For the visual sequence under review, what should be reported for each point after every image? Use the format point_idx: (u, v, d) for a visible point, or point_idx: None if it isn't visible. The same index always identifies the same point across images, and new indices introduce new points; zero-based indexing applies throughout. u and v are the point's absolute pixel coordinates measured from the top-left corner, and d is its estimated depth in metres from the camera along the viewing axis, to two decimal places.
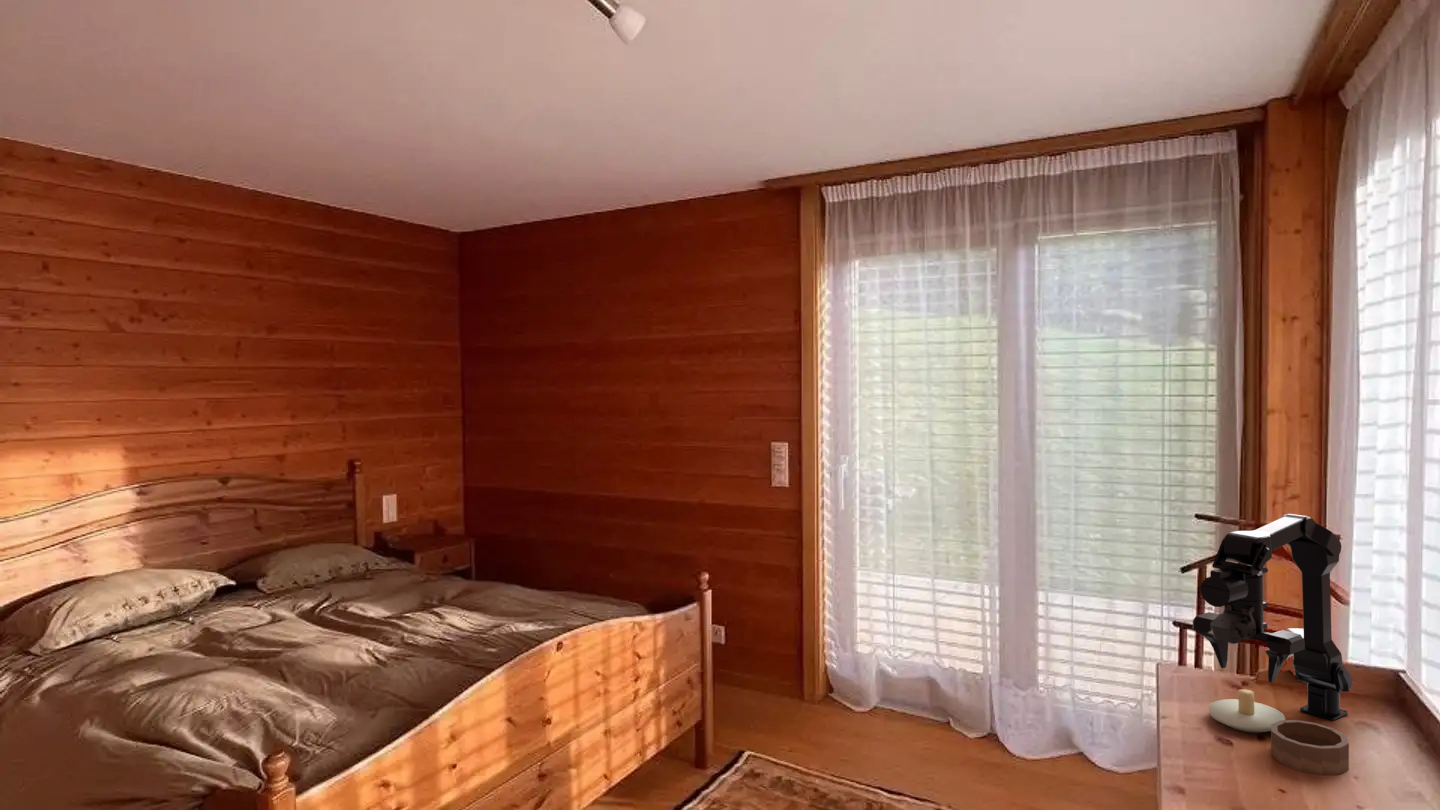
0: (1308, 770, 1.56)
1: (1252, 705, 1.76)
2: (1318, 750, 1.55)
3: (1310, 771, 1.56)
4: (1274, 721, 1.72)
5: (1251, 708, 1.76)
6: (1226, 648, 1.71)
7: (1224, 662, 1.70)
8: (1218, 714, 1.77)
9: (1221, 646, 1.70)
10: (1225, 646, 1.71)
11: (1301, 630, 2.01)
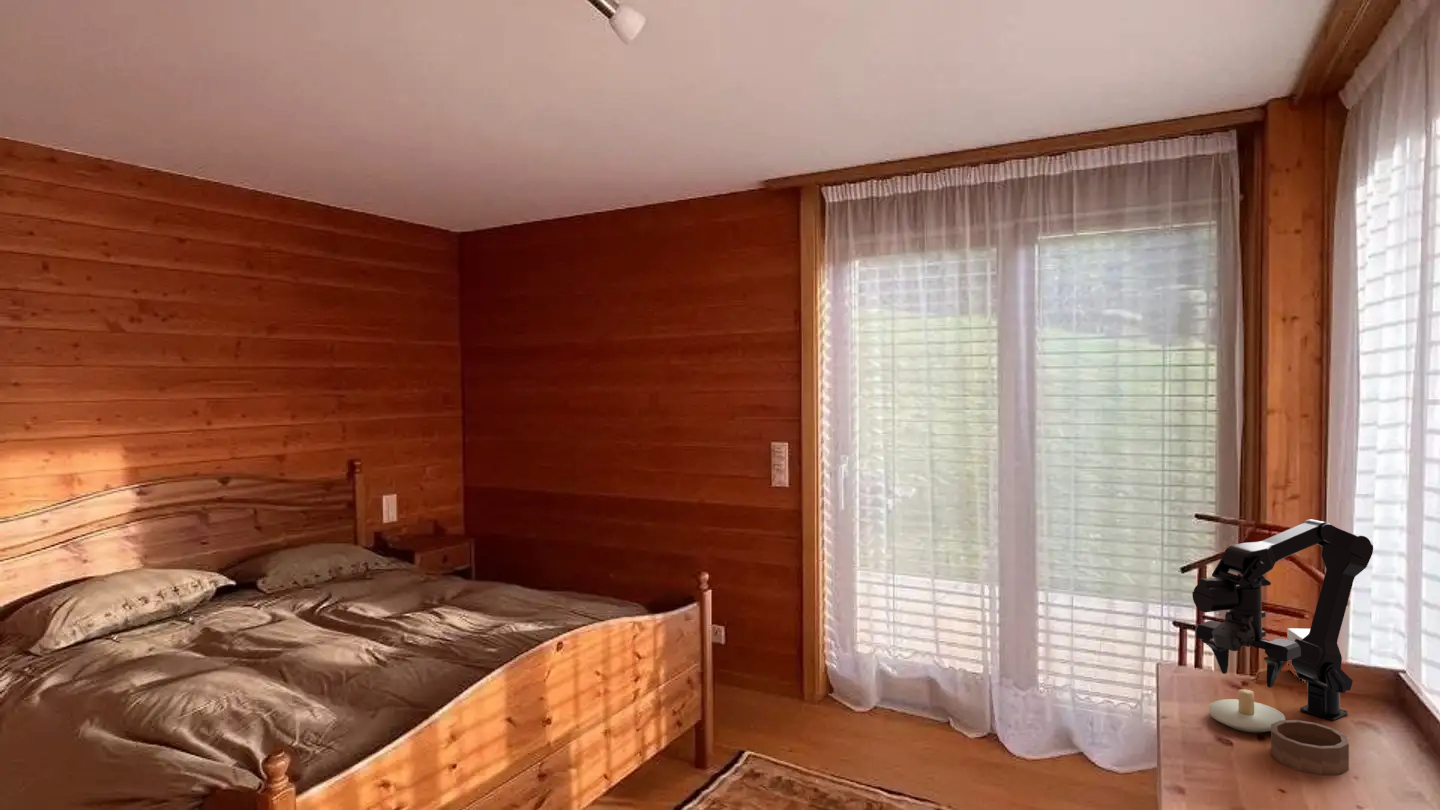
0: (1308, 770, 1.56)
1: (1252, 705, 1.76)
2: (1318, 750, 1.55)
3: (1310, 771, 1.56)
4: (1274, 721, 1.72)
5: (1251, 708, 1.76)
6: (1227, 655, 1.81)
7: (1225, 668, 1.80)
8: (1218, 714, 1.77)
9: (1222, 653, 1.80)
10: (1226, 653, 1.81)
11: (1301, 630, 2.01)
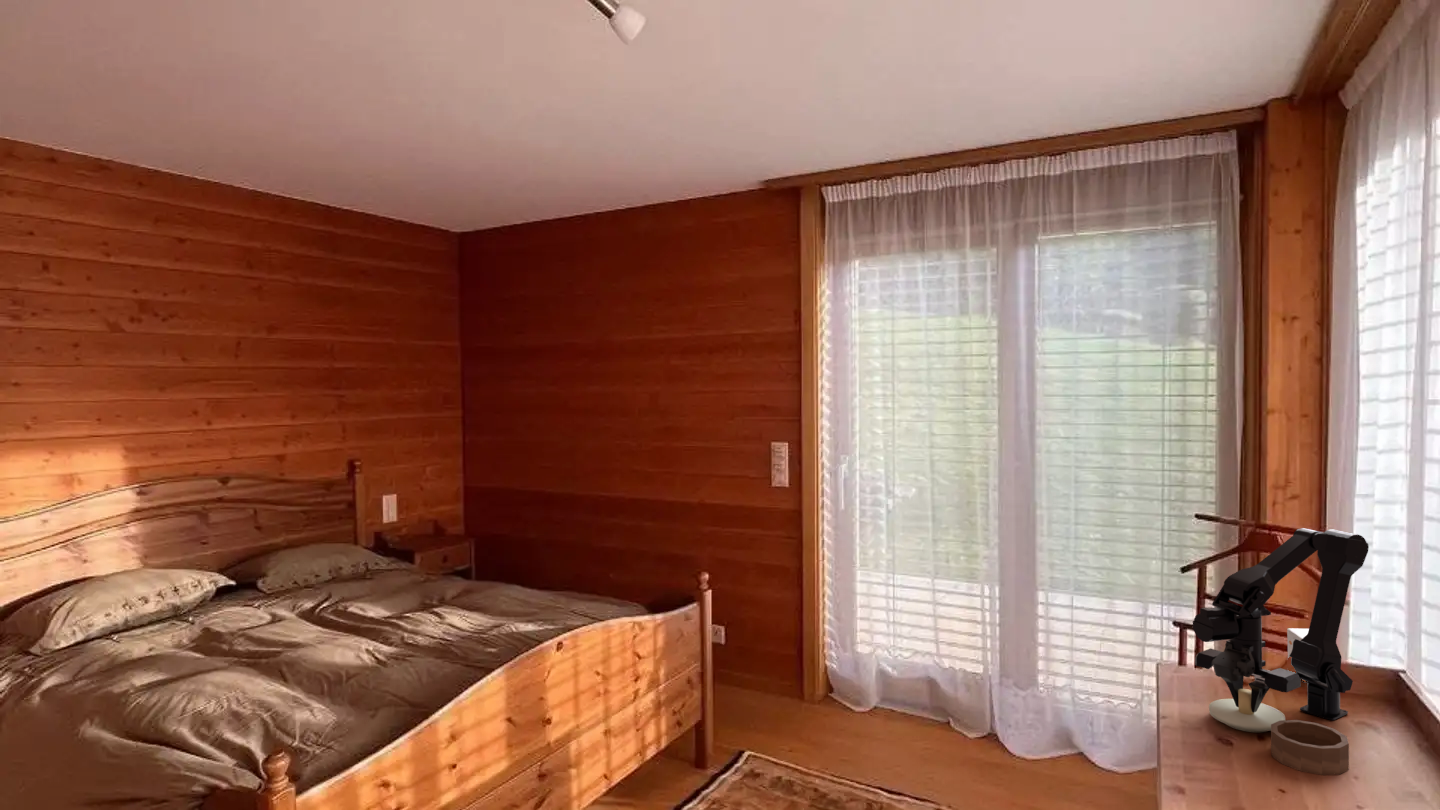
0: (1308, 770, 1.56)
1: None
2: (1318, 750, 1.55)
3: (1310, 771, 1.56)
4: (1274, 720, 1.72)
5: None
6: (1241, 688, 1.79)
7: None
8: (1218, 713, 1.77)
9: (1236, 686, 1.78)
10: (1240, 686, 1.79)
11: (1301, 630, 2.01)
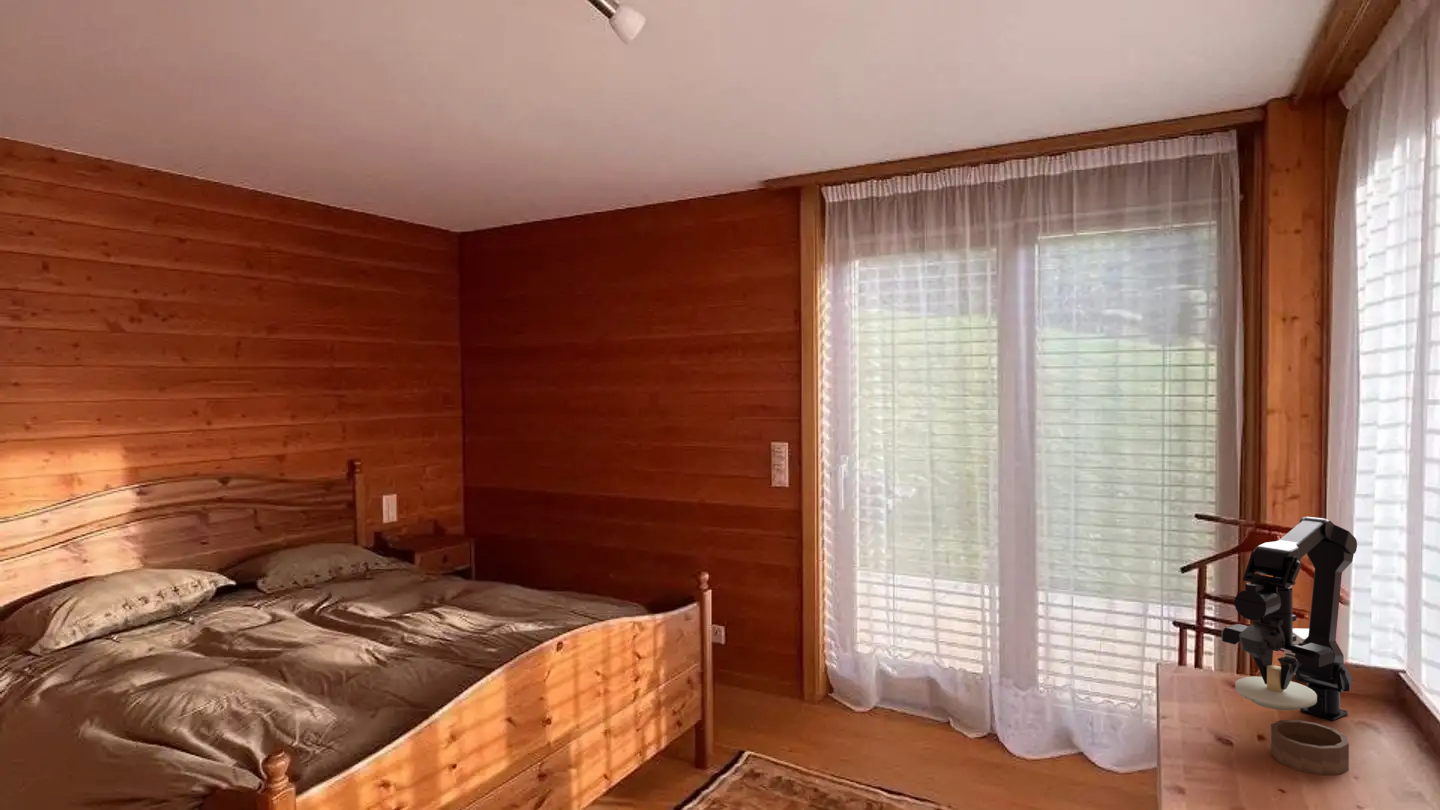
0: (1308, 770, 1.56)
1: None
2: (1318, 750, 1.55)
3: (1310, 771, 1.56)
4: (1305, 698, 1.63)
5: (1280, 684, 1.67)
6: (1270, 664, 1.70)
7: None
8: (1245, 690, 1.68)
9: (1265, 662, 1.69)
10: (1269, 662, 1.70)
11: (1301, 630, 2.01)
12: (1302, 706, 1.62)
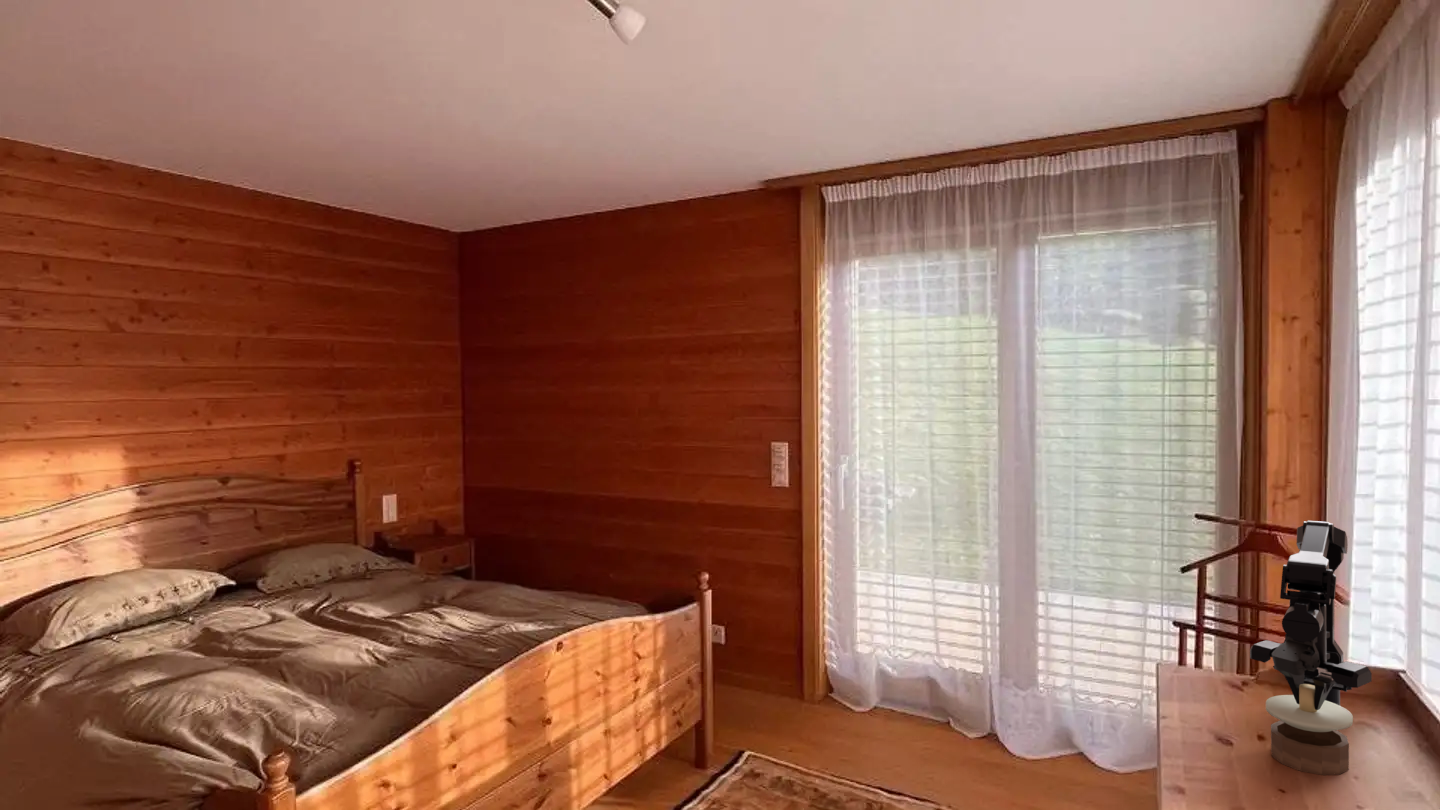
0: (1308, 770, 1.56)
1: None
2: (1318, 750, 1.55)
3: (1310, 771, 1.56)
4: (1341, 719, 1.56)
5: (1314, 705, 1.59)
6: (1302, 683, 1.63)
7: None
8: (1277, 711, 1.60)
9: (1297, 681, 1.62)
10: (1301, 681, 1.62)
11: None
12: (1339, 728, 1.54)
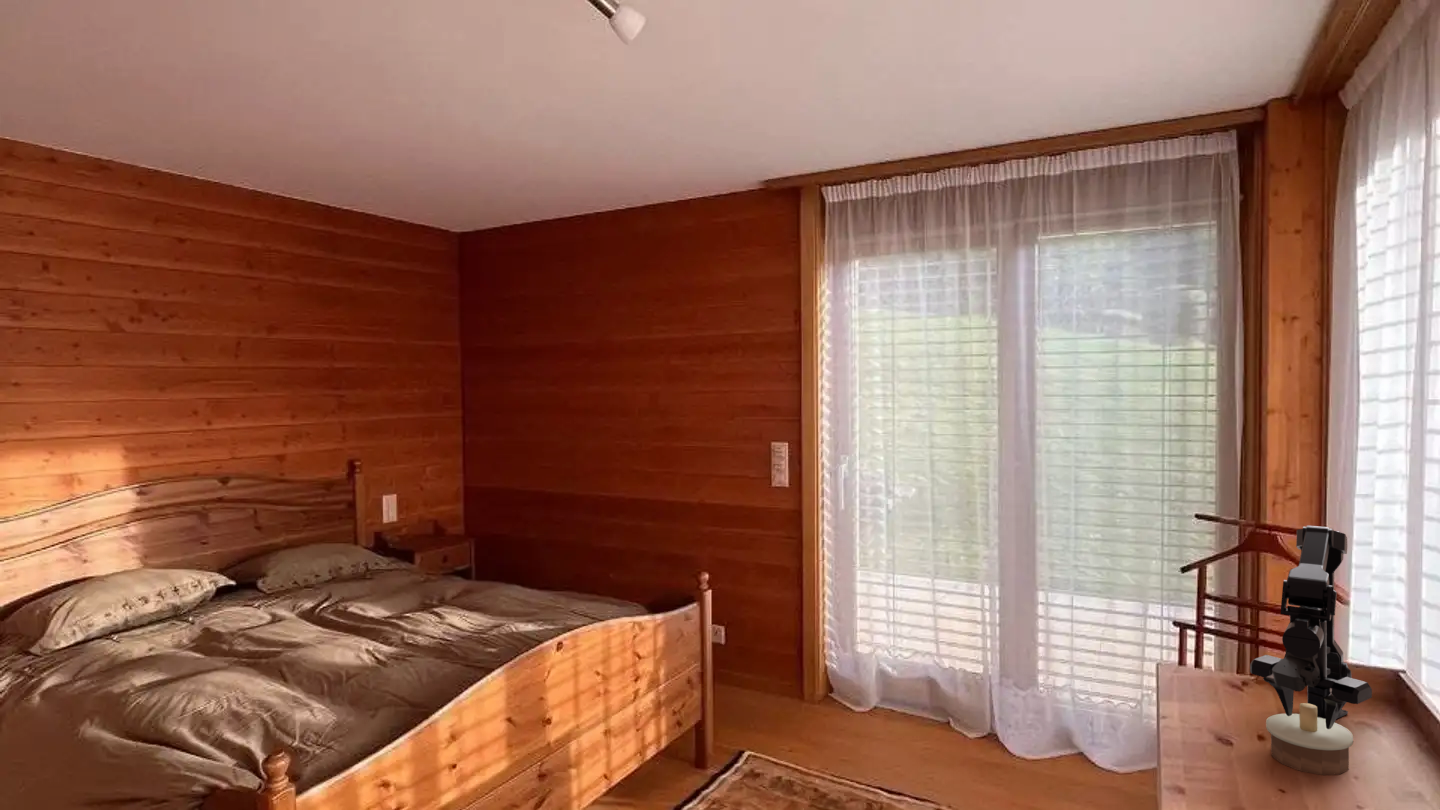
0: (1308, 770, 1.56)
1: (1315, 721, 1.59)
2: (1318, 750, 1.55)
3: (1310, 771, 1.56)
4: (1341, 739, 1.56)
5: (1314, 724, 1.59)
6: (1292, 695, 1.64)
7: (1290, 709, 1.64)
8: (1277, 730, 1.60)
9: (1287, 693, 1.64)
10: (1291, 693, 1.64)
11: None
12: (1339, 748, 1.54)
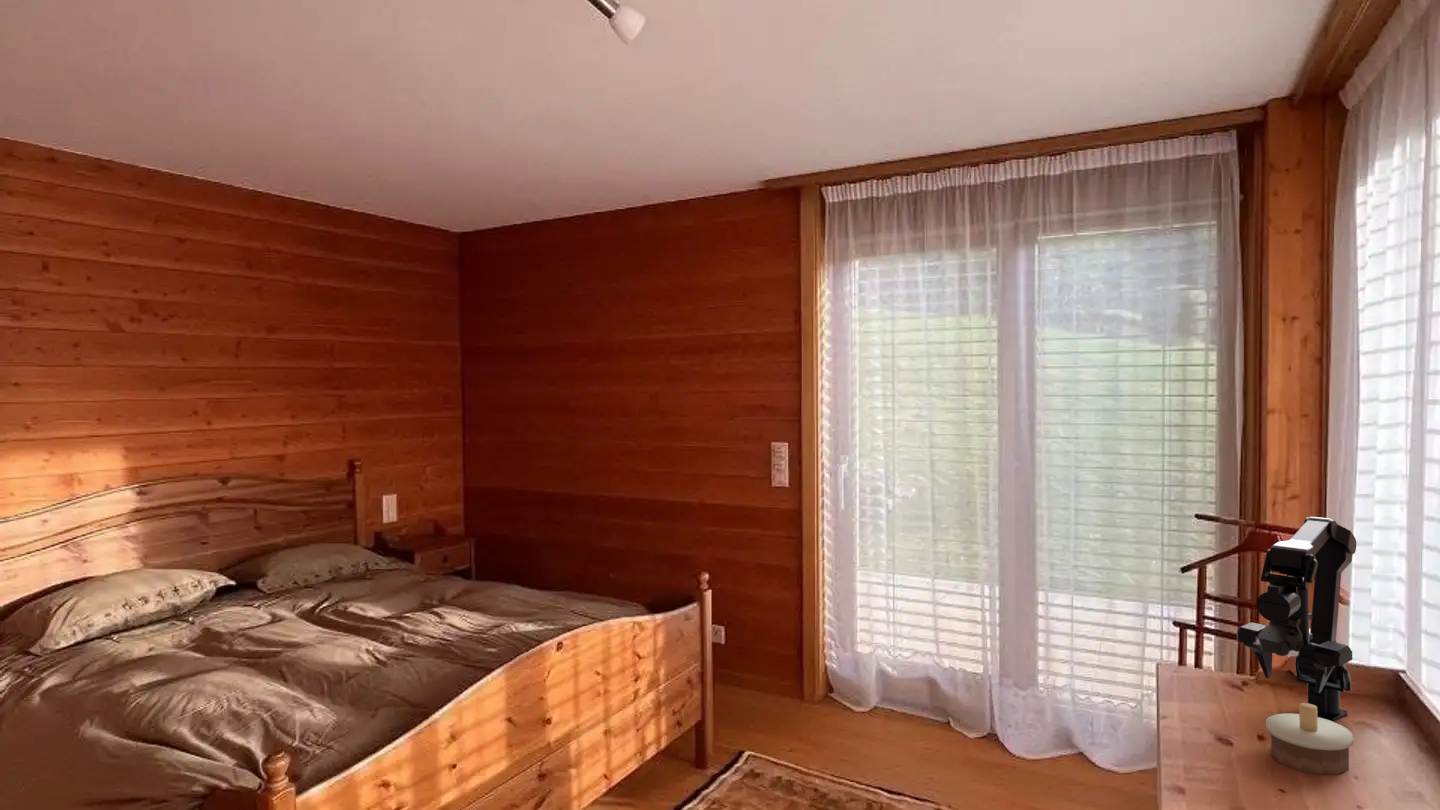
0: (1308, 770, 1.56)
1: (1315, 721, 1.59)
2: (1318, 750, 1.55)
3: (1310, 771, 1.56)
4: (1341, 739, 1.56)
5: (1314, 724, 1.59)
6: (1270, 658, 1.72)
7: (1269, 672, 1.72)
8: (1277, 730, 1.60)
9: (1266, 656, 1.71)
10: (1269, 656, 1.72)
11: None
12: (1339, 748, 1.54)
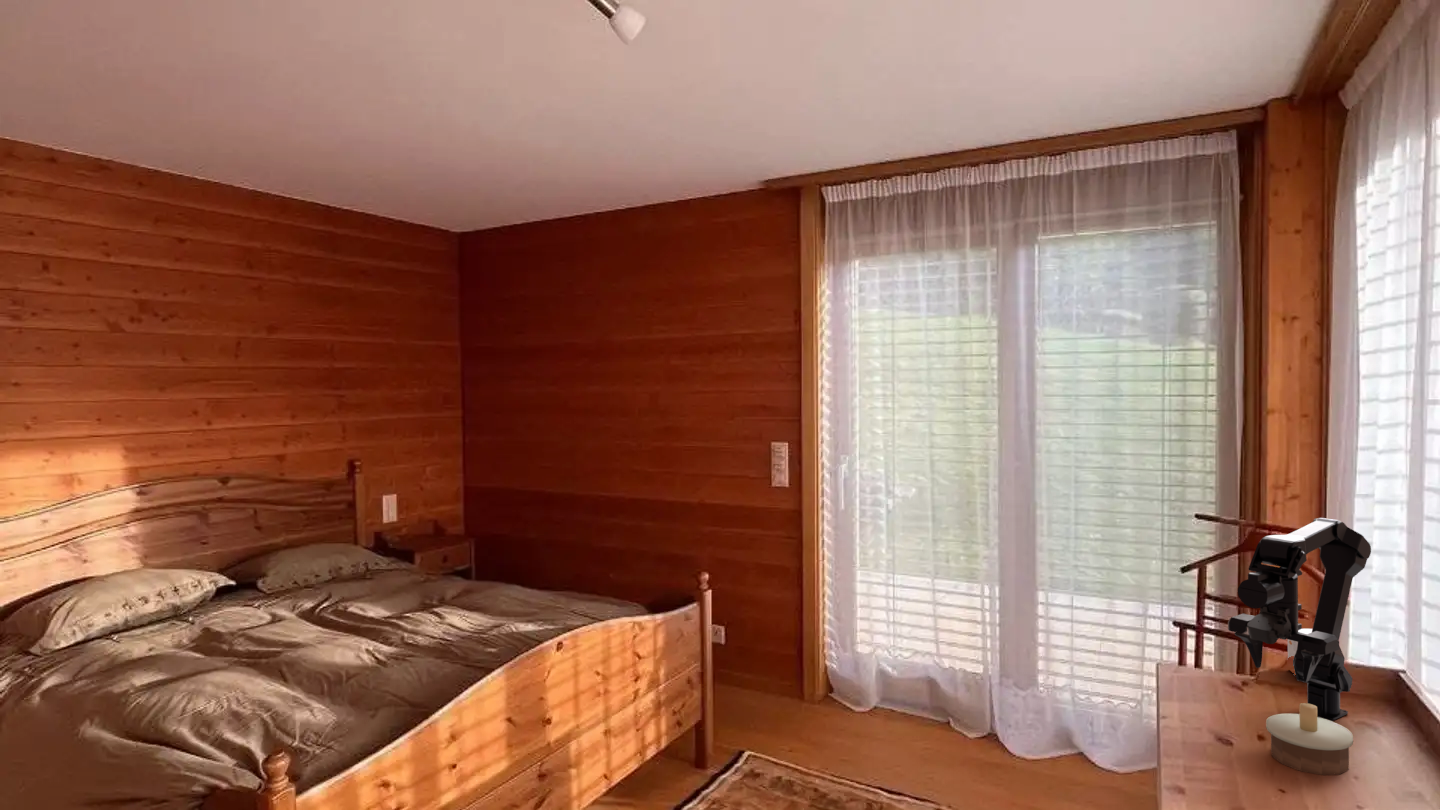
0: (1308, 770, 1.56)
1: (1315, 721, 1.59)
2: (1318, 750, 1.55)
3: (1310, 771, 1.56)
4: (1341, 739, 1.56)
5: (1314, 724, 1.59)
6: (1261, 648, 1.77)
7: (1259, 662, 1.76)
8: (1277, 730, 1.60)
9: (1256, 646, 1.76)
10: (1260, 646, 1.77)
11: (1301, 630, 2.01)
12: (1339, 748, 1.54)
